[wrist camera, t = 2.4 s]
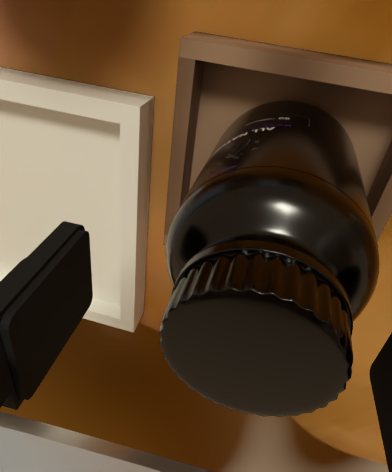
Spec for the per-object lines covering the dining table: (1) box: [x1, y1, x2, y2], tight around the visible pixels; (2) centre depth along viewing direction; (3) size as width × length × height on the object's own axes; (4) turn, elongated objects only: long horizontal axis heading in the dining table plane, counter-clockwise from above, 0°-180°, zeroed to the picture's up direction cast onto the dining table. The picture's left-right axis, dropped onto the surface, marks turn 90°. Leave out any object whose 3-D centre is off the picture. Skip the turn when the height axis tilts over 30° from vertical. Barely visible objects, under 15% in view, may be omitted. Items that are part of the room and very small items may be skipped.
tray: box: [0, 67, 154, 332], centre depth 24 cm, size 16×16×2 cm
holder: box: [163, 32, 392, 245], centre depth 18 cm, size 10×10×2 cm
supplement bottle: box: [159, 100, 379, 417], centre depth 14 cm, size 7×7×12 cm
